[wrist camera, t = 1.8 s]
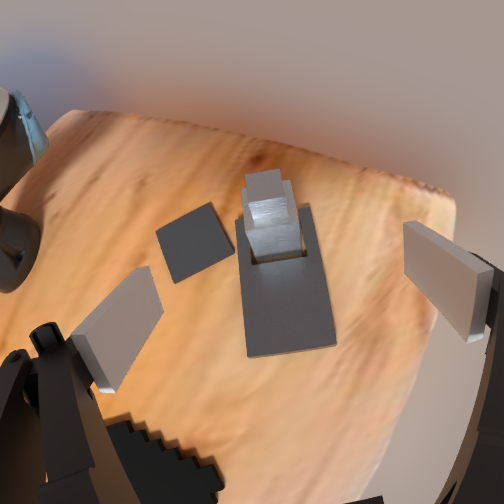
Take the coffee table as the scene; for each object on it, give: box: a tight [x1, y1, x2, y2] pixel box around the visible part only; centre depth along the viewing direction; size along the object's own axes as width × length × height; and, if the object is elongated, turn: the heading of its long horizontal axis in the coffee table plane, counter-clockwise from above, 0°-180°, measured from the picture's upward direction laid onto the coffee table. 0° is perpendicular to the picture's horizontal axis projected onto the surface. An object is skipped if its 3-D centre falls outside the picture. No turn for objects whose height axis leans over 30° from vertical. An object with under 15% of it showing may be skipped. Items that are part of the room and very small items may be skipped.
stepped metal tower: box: [241, 168, 302, 264], centre depth 31 cm, size 5×5×11 cm
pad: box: [155, 203, 234, 284], centre depth 38 cm, size 8×8×1 cm
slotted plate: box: [235, 207, 337, 358], centre depth 33 cm, size 16×9×1 cm, turn 6°
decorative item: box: [106, 421, 225, 504], centre depth 25 cm, size 23×2×20 cm
